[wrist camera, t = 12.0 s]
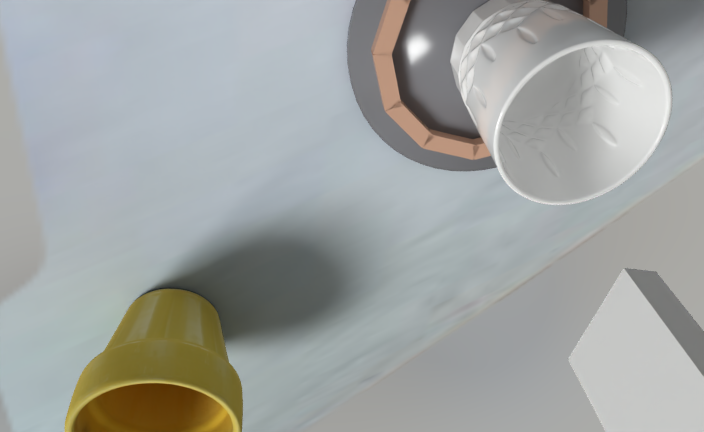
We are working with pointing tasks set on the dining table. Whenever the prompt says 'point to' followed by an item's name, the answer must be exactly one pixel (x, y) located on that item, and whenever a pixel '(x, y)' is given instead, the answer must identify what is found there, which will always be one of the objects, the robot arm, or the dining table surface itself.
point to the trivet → (428, 75)
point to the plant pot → (161, 372)
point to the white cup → (559, 98)
